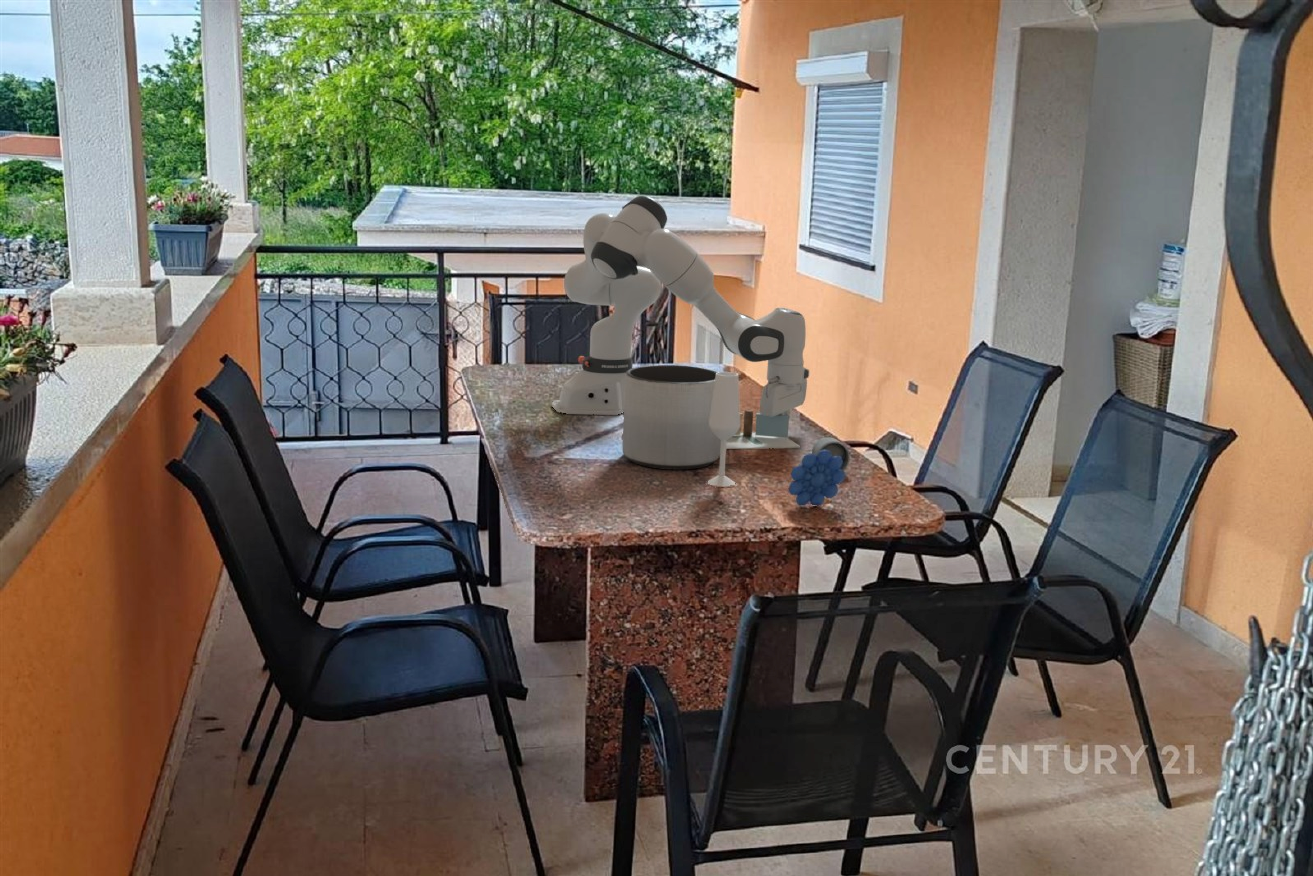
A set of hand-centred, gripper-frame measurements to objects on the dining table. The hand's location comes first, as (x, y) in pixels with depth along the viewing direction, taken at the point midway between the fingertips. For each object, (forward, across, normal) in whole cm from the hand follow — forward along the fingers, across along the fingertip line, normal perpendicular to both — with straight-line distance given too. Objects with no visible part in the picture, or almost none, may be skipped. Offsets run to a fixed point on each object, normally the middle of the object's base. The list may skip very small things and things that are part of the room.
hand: (780, 428), depth 306 cm
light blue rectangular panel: (+2, -4, +1) cm, 4 cm away
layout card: (+2, -9, +4) cm, 10 cm away
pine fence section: (+3, -9, +10) cm, 14 cm away
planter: (+3, -36, +11) cm, 38 cm away
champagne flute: (+2, -48, -8) cm, 49 cm away
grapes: (+2, -51, -30) cm, 59 cm away
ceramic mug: (+2, -24, -21) cm, 32 cm away
